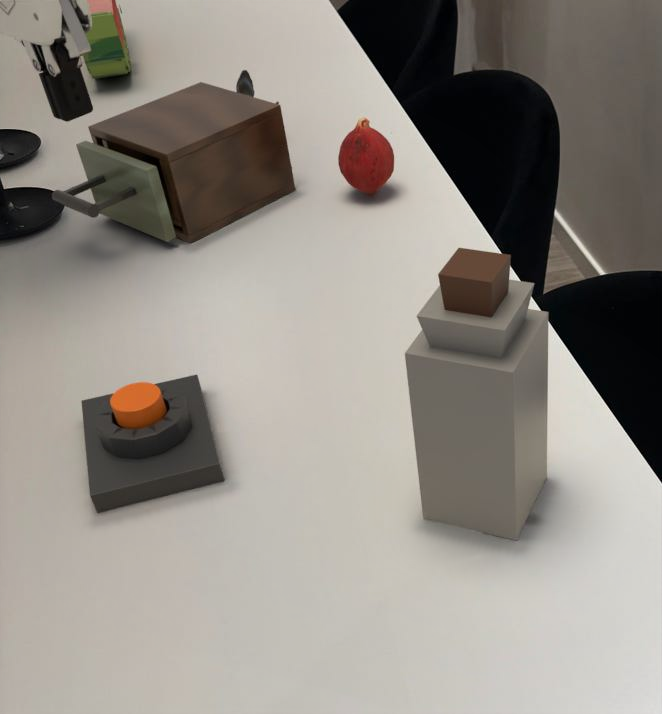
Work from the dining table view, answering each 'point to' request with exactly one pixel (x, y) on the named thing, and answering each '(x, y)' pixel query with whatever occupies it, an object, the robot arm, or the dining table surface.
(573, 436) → the dining table surface
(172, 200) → the wooden drawer
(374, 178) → the pomegranate
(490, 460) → the perfume bottle
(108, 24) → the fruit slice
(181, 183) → the drawer cabinet
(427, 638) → the dining table surface
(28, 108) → the dining table surface
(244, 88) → the eagle figurine
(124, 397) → the button
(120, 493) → the block
